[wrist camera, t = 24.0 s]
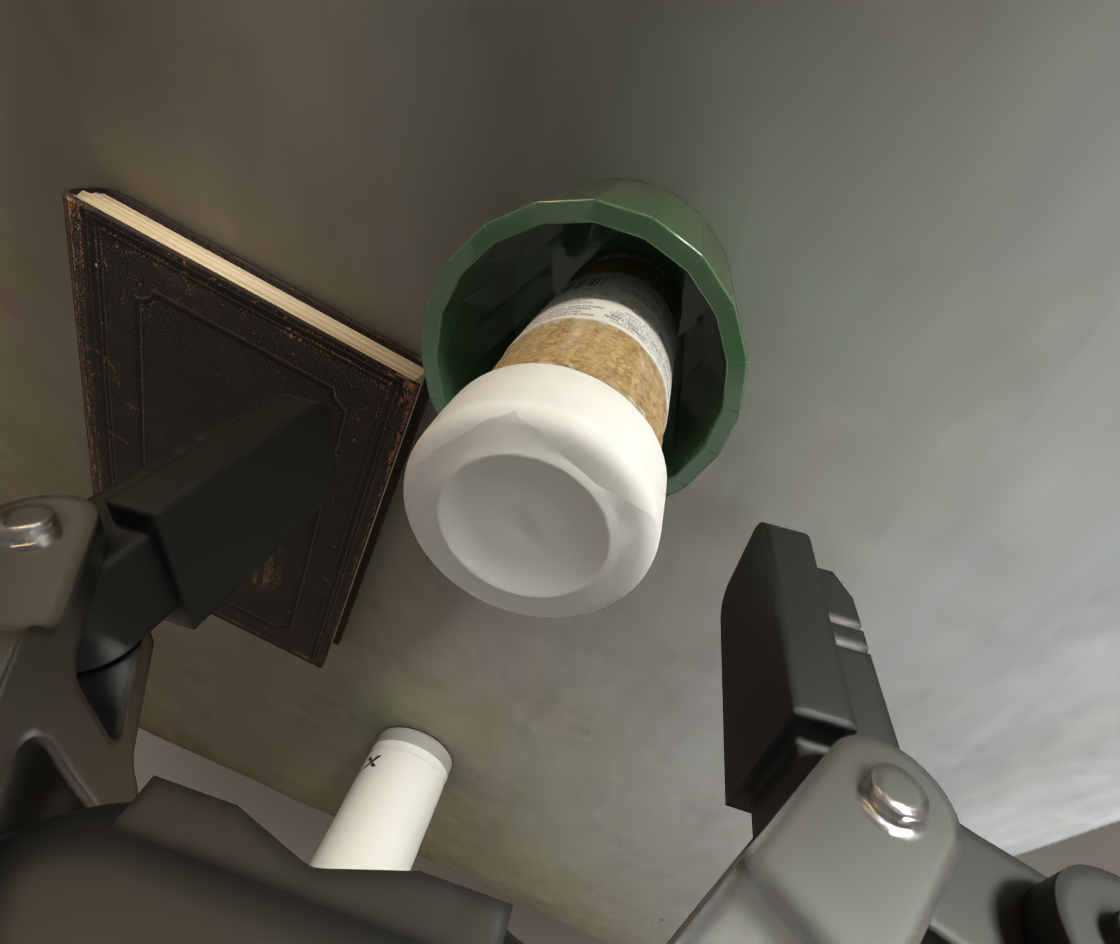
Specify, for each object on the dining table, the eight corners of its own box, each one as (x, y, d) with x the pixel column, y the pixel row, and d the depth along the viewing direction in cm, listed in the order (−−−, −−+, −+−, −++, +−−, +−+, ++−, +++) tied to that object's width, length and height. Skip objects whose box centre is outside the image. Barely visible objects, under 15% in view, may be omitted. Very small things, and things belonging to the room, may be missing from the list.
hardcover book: (440, 367, 23) (417, 387, 22) (340, 641, 36) (320, 668, 35) (104, 183, 22) (49, 187, 21) (124, 532, 35) (92, 554, 34)
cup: (699, 133, 17) (697, 130, 11) (753, 381, 21) (775, 485, 15) (467, 233, 20) (364, 275, 14) (551, 432, 24) (498, 534, 18)
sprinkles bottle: (578, 378, 22) (448, 630, 11) (549, 263, 20) (348, 428, 8) (692, 359, 20) (680, 628, 9) (674, 232, 18) (629, 384, 7)
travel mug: (368, 717, 41) (144, 1106, 25) (448, 735, 40) (267, 1157, 23) (383, 762, 44) (195, 1130, 28) (457, 779, 43) (305, 1176, 27)
